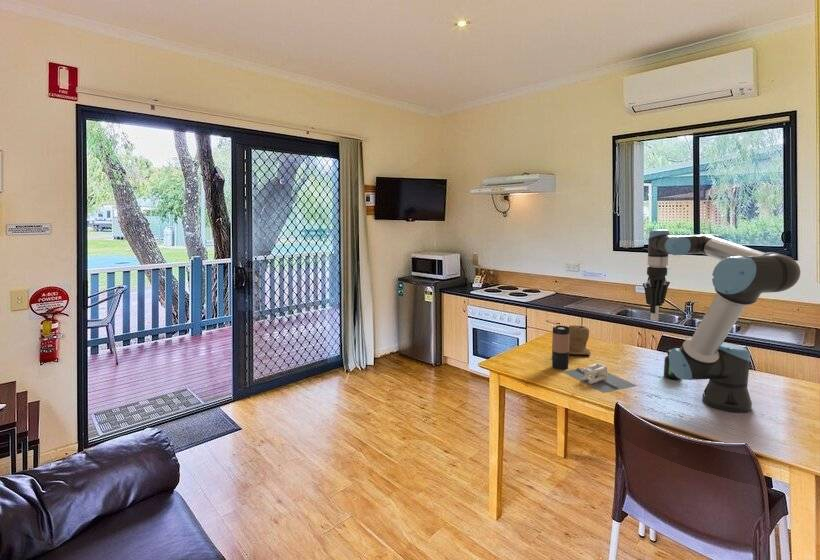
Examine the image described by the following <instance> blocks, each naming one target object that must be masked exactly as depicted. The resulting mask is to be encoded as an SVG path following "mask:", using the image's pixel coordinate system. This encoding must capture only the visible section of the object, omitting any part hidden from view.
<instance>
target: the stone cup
mask: <svg viewBox="0 0 820 560" xmlns="http://www.w3.org/2000/svg"><path fill="white" fill-rule="evenodd" d="M568 327H569V355H576V356H577V355H580V356H583V355H584V356H586V355H591V353H592V351H591V350H590V349H588V348H587V344H588V343H587V342H588V340H589V337H590V329H589V327H587V326H584V325H576V324H574V325H572V324H571V325H569V326H568Z"/></svg>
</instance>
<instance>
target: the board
mask: <svg viewBox="0 0 820 560" xmlns="http://www.w3.org/2000/svg"><path fill="white" fill-rule="evenodd" d="M581 368H582V367H581ZM581 368H580V367H576V368H575V369H569V370H568V369H567V370H561V372H562V373H564V374H566V375H568V376H569V377H571V378H574V379H575V380H578V381H579V382H581V383H583V384H585V385H587V386H589V387H591V388H593V389H595V390H597V391H600V392H601V393H604V394H605V393H608V392H610V393H611V392H614V391H618V390H624V389H628V388H629V389H630V388H634V387H635V388H636V387H638V385H636V384H634V383H633V382H630V381H627V380H625V379H624V378H621V377H619V376H616V375H614V374H612V373H610V372H607V374H608V379H607V380H606V379H604V380H601V381H599V382H596V383H593V384H589V380H585V381H583V380H582V377H585V373H584V372H582V371H581ZM594 369H596V368H593V369H591V370H594ZM598 377H600V376H596V377H595V378H598Z"/></svg>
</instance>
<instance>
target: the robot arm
mask: <svg viewBox="0 0 820 560" xmlns="http://www.w3.org/2000/svg"><path fill="white" fill-rule="evenodd" d="M647 240H648V241H647V242H648V243H647V245H648V247H647V267H646V275H647V276H648V278H647V281H646V282H643V283H642V286H643V289H644V295H645V302H646V303H645V304H647V305H649V306H650V308H649V312H650V321H653V322H659V313H660V311H661V309H660V308H661V307H662V306H663V304H664V303H665V300H666V297H667V296H666V295H667V291H668V288H669V286H670V284H671V282H670V281H667V279H666V276H668V265H669V255H672V256H683V255H696V254H697V255H698V254H699V255H700V254H702V255H705V256H707V257H710V258H713V259H716V260H718V261H719V262H718V263H717V264H716V265H715V266H714V269H713V270H712V274H711V275H712V277H713V278H711V281H712V285H713V288H714V291H715V293H716V295H715V296H714V298H713V299H712V301H711V302H710V305H709V306H708V308H707V310H706V312H705V314H704V315H703V317H702V319H701V321H700V322H699V325H698V326H697V328H696V330H695V332H694V333H693V335H692V337H691V338H688V339H686V340H684V341H683V343H682V345H681V347H679V348H678V347H675V348H672V349H670V350H671V351H670V353H669V363H670V367H671V369H672V371H673V373H674V374H675V375H676V376H677V377H678V378H679V379H680V380H687V381H693V380H695V381H697V380H708V382H707V384H706V386H705V389H704V390H703V391H702V398H701V400H702V402H703V401H704V402H705V403H704V402H703V403H704V404H705V405H707V404H708V405H707V406H709V405H710V406H709V407H711V408H714V409H717V410H720V411H725V412H730V413H747V412H750V411H751V410H752V409H753V408H752V407H753V403H752V402H753V401H752V399H751V396H750V392H749V388H748V385H749V374H750V363H751V352H750V350H749V349H748V348H746V347H744V346H741V345H738V344H734V343H730V342H729V343H728V342H725V339H726V338H727V336H728V335H729V334H730V332H731V330H732V329H733V327H734V325H735V324H736V323H737V321H738V319H739V318H740V316H741V315H742V313H743V311H744V310H745V308H746V306H751V305H753V304H755V303H756V302H757V300H758V299H759V297H760V296H761V294H766V293H768V294H769V293H780V292H784V291H787V290H789V289H791V288H792V287H794V286H795V285H796V284H797V283H798V282H799V280H800V278H801V267H800V266H799V263H798V262H797V261H796V260H795V259H793V258H792V257H790V256H788V255H785V254H781V253H778V252H775V251H774V252H773V251H770V252H763V251H760V250H757V249H754V248H750V247H749V246H748V247H747V246H745V245H741V244H738V243H734V242H731V241H728V240H726V239H724V238H723V237H722V235H720V234H713V233H709V234H689V235H687V234H686V235H685V234H684V235H670V230H669V229H652V230H650V231H649V234H648V239H647Z"/></svg>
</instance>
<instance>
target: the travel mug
mask: <svg viewBox="0 0 820 560" xmlns="http://www.w3.org/2000/svg"><path fill="white" fill-rule="evenodd" d="M551 344H552V346H551V358H552V359H551V360H552V362H551V363H552V364H551V366H552V369H555V370H560V371H567V370H568V369H569V361H570V360H569V359H570V354H569V326H566V325H555V326H552V342H551Z"/></svg>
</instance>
